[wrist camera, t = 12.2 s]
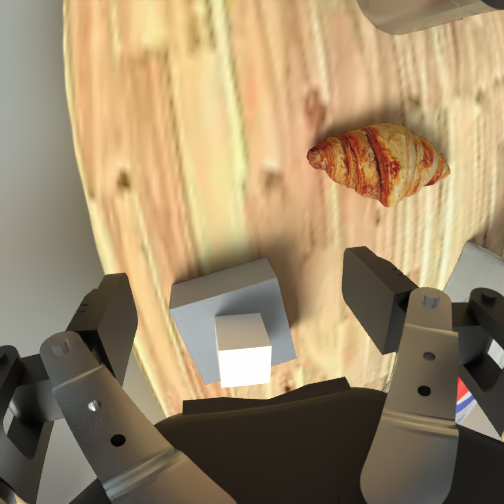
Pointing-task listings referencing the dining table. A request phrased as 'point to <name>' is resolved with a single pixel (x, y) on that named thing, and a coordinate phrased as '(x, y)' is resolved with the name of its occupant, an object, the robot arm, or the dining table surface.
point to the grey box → (229, 311)
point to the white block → (242, 350)
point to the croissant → (380, 161)
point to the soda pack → (458, 289)
